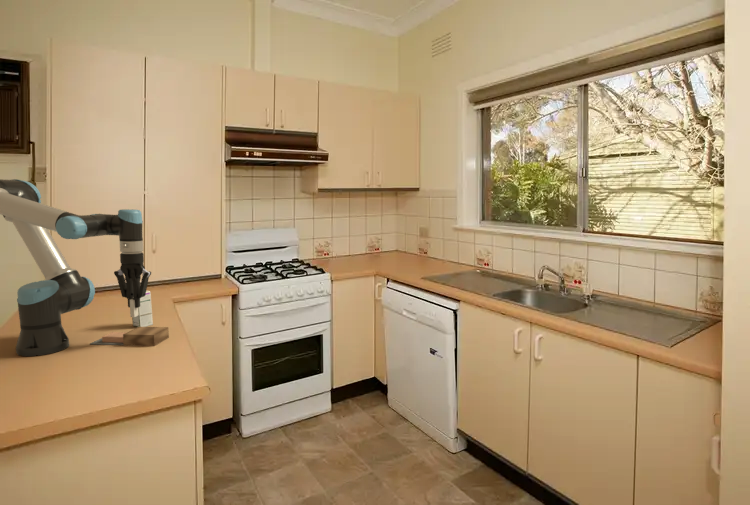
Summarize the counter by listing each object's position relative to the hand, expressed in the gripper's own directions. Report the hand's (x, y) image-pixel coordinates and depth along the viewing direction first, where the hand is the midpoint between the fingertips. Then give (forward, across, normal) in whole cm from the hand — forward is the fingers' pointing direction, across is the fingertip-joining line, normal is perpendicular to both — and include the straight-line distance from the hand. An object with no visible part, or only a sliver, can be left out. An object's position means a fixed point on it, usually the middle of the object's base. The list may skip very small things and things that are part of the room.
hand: (134, 316), depth 171 cm
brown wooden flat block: (+9, +4, 0) cm, 10 cm away
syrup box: (+10, -9, +20) cm, 24 cm away
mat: (+10, -8, 0) cm, 12 cm away
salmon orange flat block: (+9, -6, 0) cm, 11 cm away
